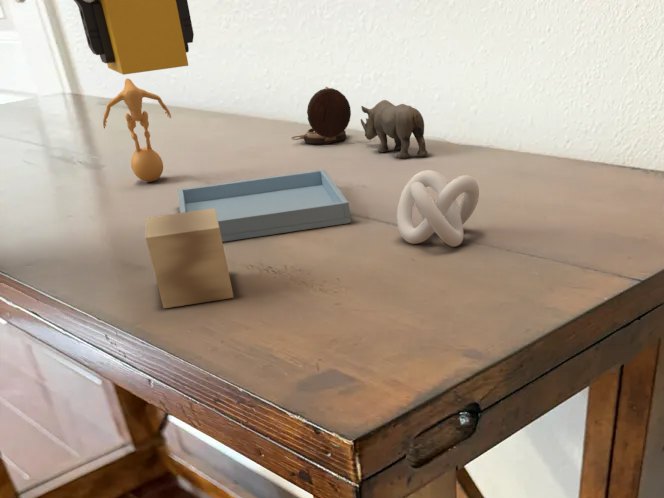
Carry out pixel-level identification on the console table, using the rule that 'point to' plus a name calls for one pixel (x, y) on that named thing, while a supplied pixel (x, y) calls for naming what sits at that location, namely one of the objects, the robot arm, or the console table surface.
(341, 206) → the tray
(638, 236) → the console table surface
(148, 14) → the top block
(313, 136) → the compass
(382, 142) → the rhino figurine
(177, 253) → the base block
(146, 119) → the figurine
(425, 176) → the knot
